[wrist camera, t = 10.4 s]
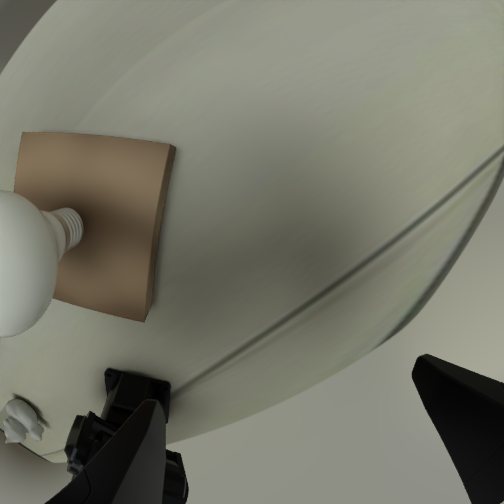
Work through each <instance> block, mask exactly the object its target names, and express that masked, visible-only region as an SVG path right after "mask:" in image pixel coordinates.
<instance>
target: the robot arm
mask: <svg viewBox="0 0 504 504" xmlns="http://www.w3.org/2000/svg"><path fill="white" fill-rule="evenodd" d="M104 376H105V384H106V391H107V400H106V403H105V406H104V408H103V411H102V414H101V417H98V416H96V415H95V413H93V412H91V411H89V413H88V414H87V416H80V415H77V416H76V418H75V420H74V423H73V425H72V427H71V430H70V433H69V436H68V439H67V442H66V446H65V449H64V451H65V453H66V455H67V458H68V460H67V463H68V467H67V471H68V472H70V473H71V474H73V477H72V480H71V482H70V483H69V484H68V485H67V486H65V487H64V488H63V489H62V490H61V491H60V492H59V493H57V494H56V495H55V496H54V497H53V498H51V499H50V500H49V501H47V502H46V503H45V504H185V503H186V501H187V498H188V491H189V489H188V482H187V478H186V474H185V470H184V466H183V462H182V457H181V454H180V453H177V452H172V451H169V450H167V449H166V424H167V423H168V417H169V401H170V388H171V385H170V384H169V383H168V382H165V381H159V380H154V379H150V378H145V377H141V376H136V375H132V374H128V373H124V372H120V371H116V370H112V369H106V370H105V372H104ZM412 379H413V382H414V384H415V386H416V388H417V391H418V393H419V395H420V398H421V400H422V402H423V405H424V407H425V409H426V410H427V413H428V415H429V417H430V418H431V420H432V422H433V424H434V426H435V427H436V429H437V431H438V433H439V435H440V437H441V439H442V441H443V443H444V445H445V447H446V449H447V451H448V453H449V455H450V457H451V459H452V461H453V463H454V465H455V467H456V469H457V471H458V473H459V476H460V478H461V480H462V482H463V483H464V484H463V485H464V487H465V489H466V491H467V494H468V496H469V499H470V501H471V503H472V504H500V503H502V502H503V501H504V383H502V382H499V381H497V380H494V379H491V378H489V377H486V376H483V375H480V374H478V373H475V372H473V371H470V370H468V369H465V368H462V367H460V366H457V365H454V364H452V363H449V362H447V361H444V360H442V359H439V358H437V357H434V356H432V355H429V354H424V355H421V356H419V357H418V358H417V360H416V362H415V365H414V368H413V371H412ZM164 386H166V387H164Z"/></svg>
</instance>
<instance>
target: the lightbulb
mask: <svg viewBox="0 0 504 504" xmlns="http://www.w3.org/2000/svg"><path fill="white" fill-rule="evenodd" d="M83 230H84V229H83V222H82V220H81V218H80V216H79V214H78V213H77V212H76V211H75V210H73V209H71V208H61V209H58V210H55V211H52V212H47V211H42V210H39V209H38V208H37V207H36V206H35V205H34V204H33V203H32V202H30V201H29V200H28V199H26V198H25V197H23V196H21V195H19V194H17V193H14V192H11V191H6V190H0V338H7V337H13V336H16V335H19V334H21V333H23V332H25V331H26V330H28V329H29V328H31V327H32V326H33V325H34V324H36V323H37V322H38V321H39V319H40V318H41V317H42V316H43V314H44V313H45V311H46V310H47V308H48V306H49V304H50V302H51V300H52V297H53V295H54V291H55V288H56V283H57V277H58V263H59V262H60V260H61V259H62V257H63V254H64V253H66V252H67V251H69V250H70V249H72V248H74V247H75V246H77V245H78V244H79V243H80V241H81V239H82V237H83Z"/></svg>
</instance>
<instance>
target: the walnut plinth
mask: <svg viewBox="0 0 504 504" xmlns="http://www.w3.org/2000/svg"><path fill="white" fill-rule="evenodd" d="M175 151H176V147H174V146H172V145H171V144H166V143H159V142H152V141H145V140H138V139H129V138H121V137H111V136H101V135H89V134H74V133H52V132H22V136H21V141H20V147H19V153H18V159H17V167H16V175H15V185H14V193H17V194H19V195H21V196H23V197H25V198H26V199H28V200H29V201H30V202H32V203H33V204H34V205H35V206H36V207H37V208H38V209H39V210H42V211H47V212H52V211H55V210H58V209H61V208H71V209H73V210H75V211H76V212H77V213H78V214H79V216H80V218H81V220H82V222H83V229H84V230H83V237H82V239H81V241H80V243H79V244H78V245H77V246H75V247H74V248H72V249H70V250H69V251H67V252H66V253H64V254H63V257H62V259H61V260H60V262H59V263H58V277H57V283H56V288H55V291H54V295H53V297H52V298H54V299H57V300H60V301H63V302H67V303H70V304H73V305H77V306H80V307H84V308H87V309H91V310H95V311H98V312H102V313H106V314H110V315H114V316H118V317H122V318H126V319H131V320H135V321H140V322H145V320H146V317H147V315H148V313H149V310H150V308H151V303H152V292H153V282H154V273H155V264H156V257H157V249H158V242H159V235H160V228H161V222H162V216H163V210H164V204H165V199H166V194H167V188H168V183H169V178H170V173H171V169H172V164H173V159H174V155H175Z"/></svg>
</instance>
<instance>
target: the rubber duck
mask: <svg viewBox="0 0 504 504" xmlns="http://www.w3.org/2000/svg"><path fill="white" fill-rule="evenodd" d="M6 411H7V415H8V418H7V419H6V420H3V423H4V426H5V435H6V437H7V439H6V441H5V443H8V442H21V441H24V440H25V439H26V432H27V433H29V435H30V436H31V437H32V438H33V439H34V440H36V441H41V440H42V433H43V432H44V428H43V427H42V426H41V425H40V424H39V423H38V419H37V416H36V413H35V411H34V410H33V409H32V408H31V407H30V406H29V405H28V404H27V403H26V402H24V401H22V400H18V399H12V400H10V401H8V402H7V404H6Z"/></svg>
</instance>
